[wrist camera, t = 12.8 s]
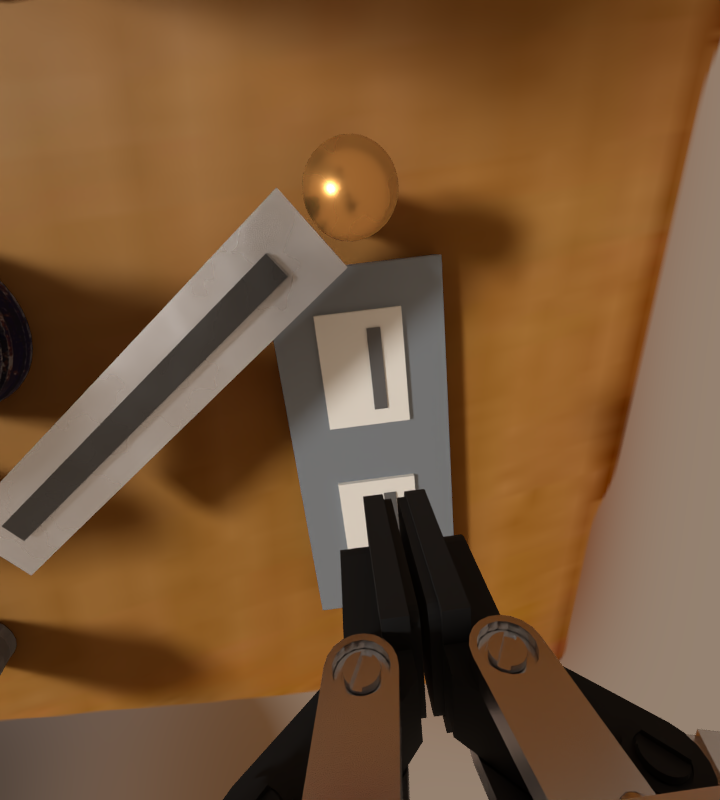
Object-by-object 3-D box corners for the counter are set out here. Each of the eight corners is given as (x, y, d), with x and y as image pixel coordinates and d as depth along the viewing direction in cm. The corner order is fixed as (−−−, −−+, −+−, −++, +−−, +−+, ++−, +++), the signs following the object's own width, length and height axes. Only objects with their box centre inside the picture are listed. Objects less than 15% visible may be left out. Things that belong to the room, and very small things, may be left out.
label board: (251, 195, 23) (225, 178, 18) (431, 174, 24) (462, 151, 18) (323, 594, 33) (321, 666, 27) (450, 577, 33) (474, 644, 28)
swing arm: (347, 122, 17) (349, 104, 15) (410, 203, 18) (421, 197, 16) (-18, 509, 22) (-57, 538, 20) (50, 554, 23) (22, 585, 21)
